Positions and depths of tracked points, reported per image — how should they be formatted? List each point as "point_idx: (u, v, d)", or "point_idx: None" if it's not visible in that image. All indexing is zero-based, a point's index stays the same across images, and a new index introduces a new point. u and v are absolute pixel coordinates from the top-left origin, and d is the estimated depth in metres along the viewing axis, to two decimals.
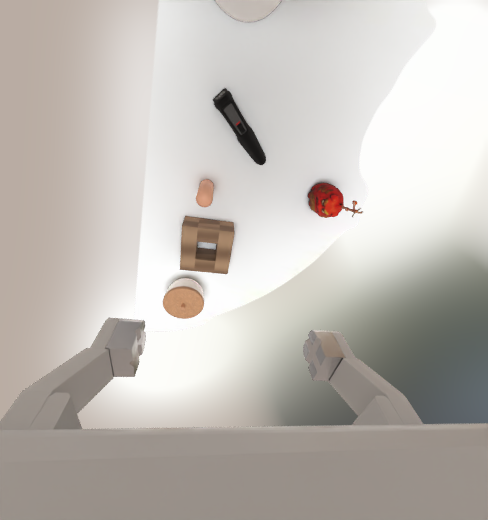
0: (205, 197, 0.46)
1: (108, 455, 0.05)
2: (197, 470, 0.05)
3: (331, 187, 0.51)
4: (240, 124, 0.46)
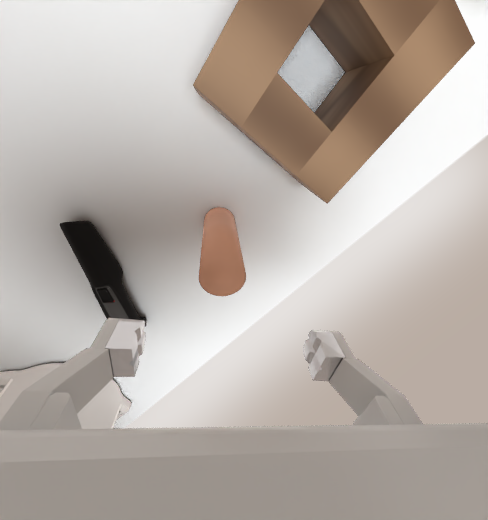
0: (217, 280, 0.16)
1: (107, 455, 0.05)
2: (197, 470, 0.05)
3: None
4: (104, 300, 0.25)
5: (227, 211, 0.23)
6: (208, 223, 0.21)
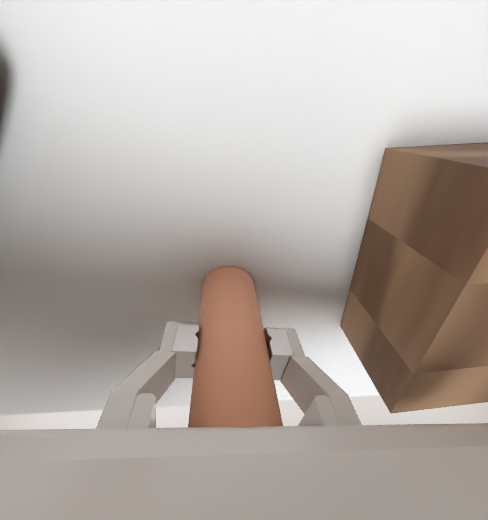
0: None
1: (107, 455, 0.05)
2: (197, 470, 0.05)
3: None
4: None
5: None
6: (236, 304, 0.11)
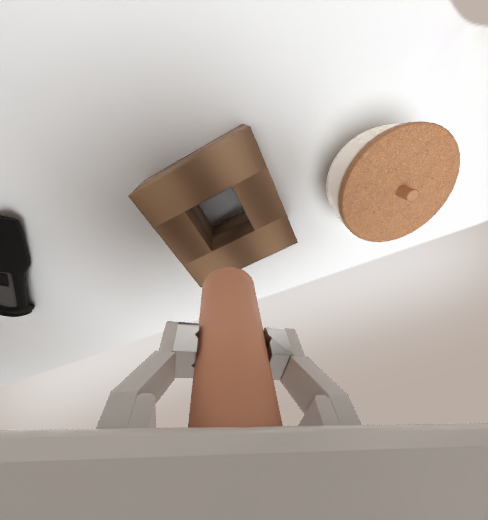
0: None
1: (108, 455, 0.05)
2: (197, 470, 0.05)
3: None
4: None
5: None
6: (236, 305, 0.11)
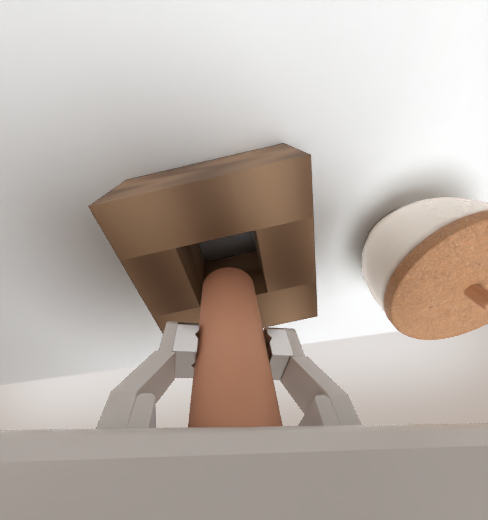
0: None
1: (107, 455, 0.05)
2: (197, 470, 0.05)
3: None
4: None
5: None
6: (236, 305, 0.11)
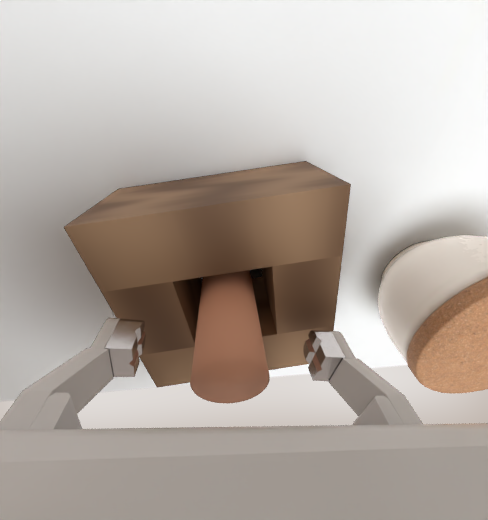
0: (220, 380, 0.09)
1: (107, 455, 0.05)
2: (197, 470, 0.05)
3: None
4: None
5: None
6: None
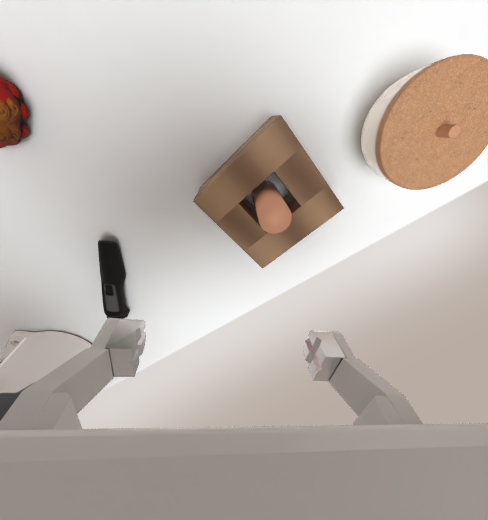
0: (270, 219, 0.23)
1: (107, 455, 0.05)
2: (197, 470, 0.05)
3: None
4: (107, 293, 0.36)
5: (273, 184, 0.30)
6: (262, 186, 0.27)
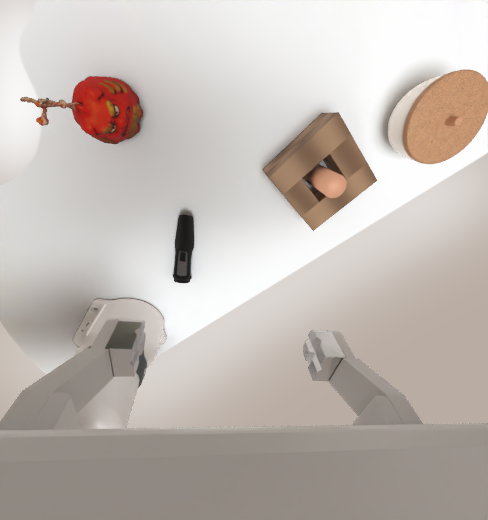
0: (331, 187, 0.32)
1: (107, 455, 0.05)
2: (197, 470, 0.05)
3: None
4: (181, 259, 0.44)
5: None
6: (315, 166, 0.37)
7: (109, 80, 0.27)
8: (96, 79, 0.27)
